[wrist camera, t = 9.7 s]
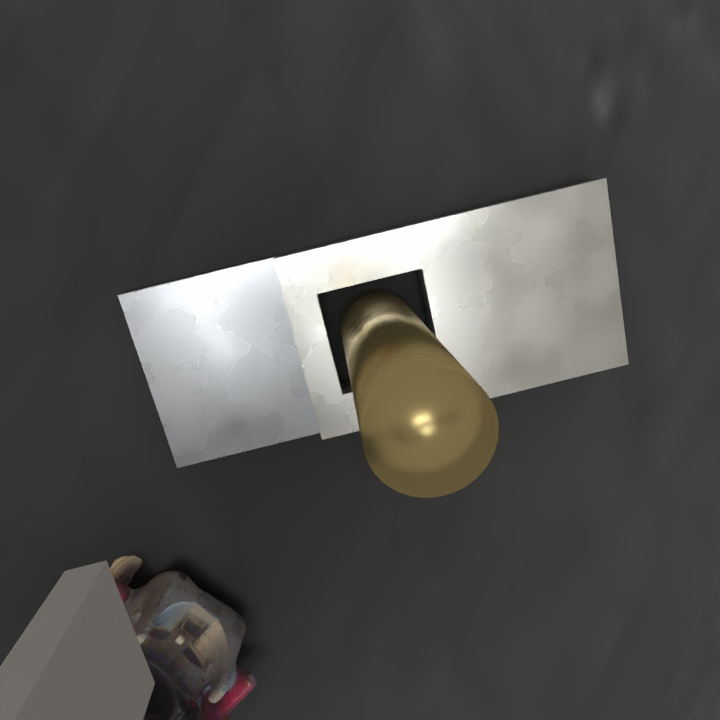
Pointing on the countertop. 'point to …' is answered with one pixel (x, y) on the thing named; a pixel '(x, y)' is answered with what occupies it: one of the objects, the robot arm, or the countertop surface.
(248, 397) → the lower link
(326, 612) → the countertop surface
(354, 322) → the pin
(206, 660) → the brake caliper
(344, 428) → the light grey flat block
